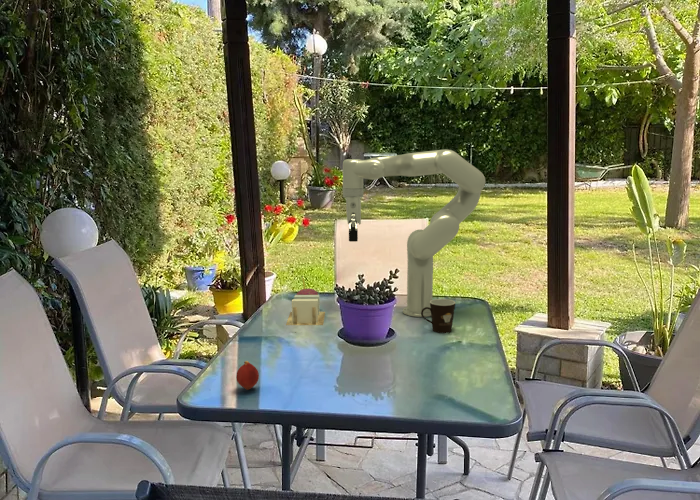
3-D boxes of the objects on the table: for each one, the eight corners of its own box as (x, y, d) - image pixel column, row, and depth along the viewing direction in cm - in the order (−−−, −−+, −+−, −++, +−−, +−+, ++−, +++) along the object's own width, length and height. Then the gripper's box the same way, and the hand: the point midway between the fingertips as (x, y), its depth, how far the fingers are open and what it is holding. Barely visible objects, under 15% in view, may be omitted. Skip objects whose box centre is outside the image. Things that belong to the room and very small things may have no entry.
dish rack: (325, 315, 239) (325, 296, 238) (323, 329, 222) (323, 308, 221) (290, 315, 239) (290, 296, 238) (285, 329, 222) (285, 308, 221)
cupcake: (293, 308, 249) (292, 278, 247) (301, 302, 257) (300, 273, 255) (314, 309, 247) (313, 279, 245) (321, 304, 255) (321, 274, 253)
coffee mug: (453, 327, 224) (454, 299, 222) (455, 334, 216) (456, 305, 214) (420, 326, 225) (420, 298, 224) (420, 333, 217) (421, 305, 215)
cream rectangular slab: (318, 320, 227) (317, 298, 225) (317, 323, 224) (317, 300, 223) (292, 321, 227) (292, 299, 225) (292, 323, 224) (291, 301, 223)
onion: (249, 383, 174) (248, 355, 172) (263, 388, 170) (262, 360, 169) (232, 390, 169) (231, 361, 168) (247, 395, 166) (246, 366, 164)
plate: (319, 313, 236) (319, 294, 235) (319, 315, 234) (319, 296, 233) (295, 313, 237) (294, 295, 235) (294, 315, 234) (294, 296, 233)
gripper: (363, 195, 226) (363, 243, 229) (362, 191, 243) (362, 235, 246) (342, 195, 226) (342, 243, 229) (343, 191, 243) (343, 235, 246)
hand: (353, 239), depth 237 cm, fingers open, 9 cm apart
